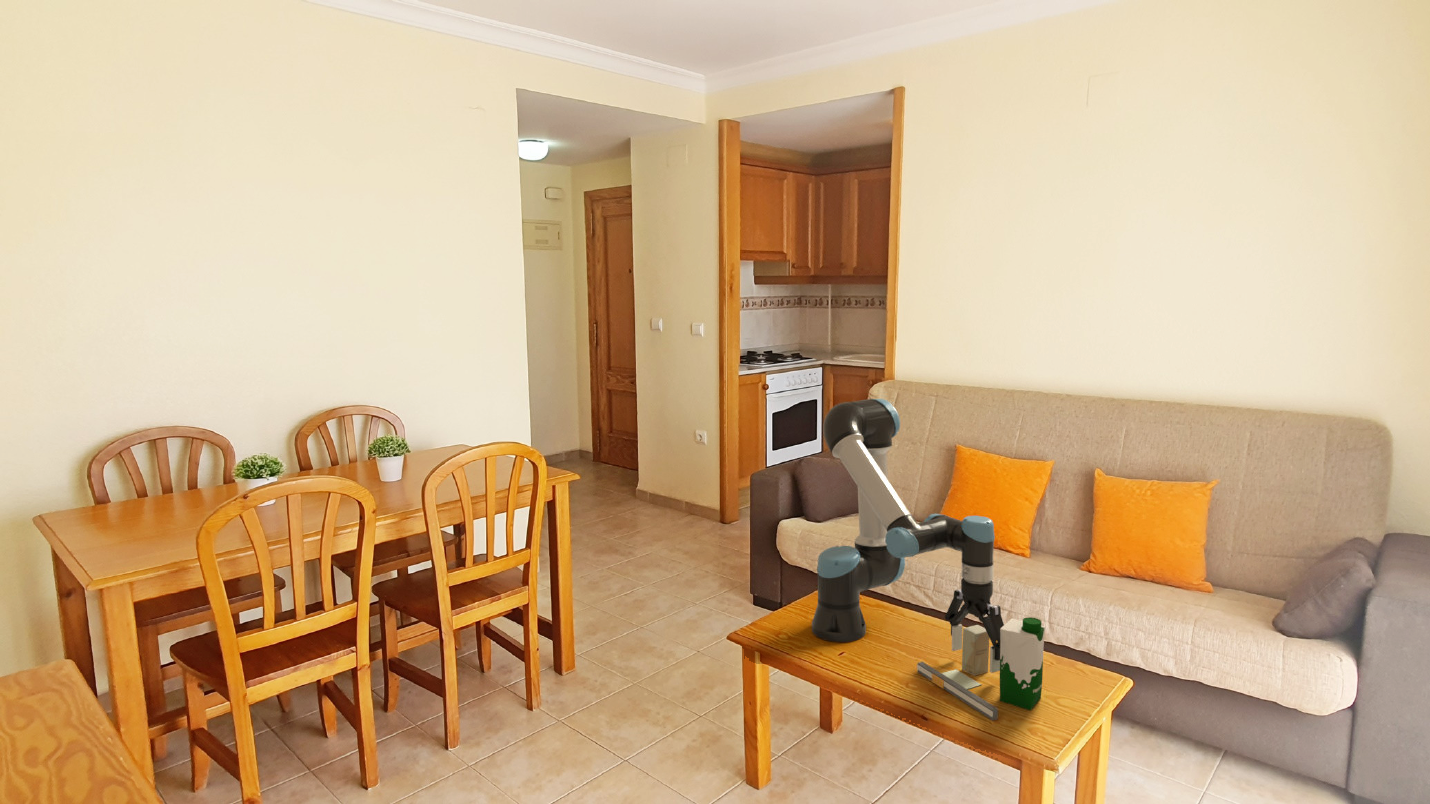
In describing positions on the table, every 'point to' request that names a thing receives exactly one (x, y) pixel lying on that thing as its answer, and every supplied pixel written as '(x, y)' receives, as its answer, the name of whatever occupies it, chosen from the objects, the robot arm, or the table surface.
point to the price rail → (958, 691)
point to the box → (975, 650)
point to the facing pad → (961, 679)
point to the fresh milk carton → (1021, 662)
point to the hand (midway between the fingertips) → (975, 660)
